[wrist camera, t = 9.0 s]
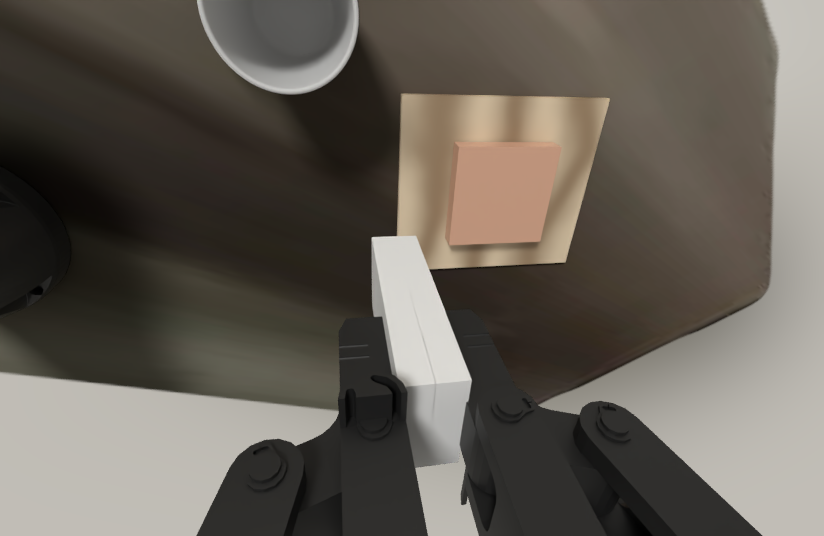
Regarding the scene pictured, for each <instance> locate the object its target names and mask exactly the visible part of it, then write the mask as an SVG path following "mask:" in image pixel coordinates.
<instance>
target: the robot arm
mask: <svg viewBox="0 0 824 536" xmlns="http://www.w3.org/2000/svg"><path fill="white" fill-rule="evenodd" d="M70 256H71V250H70V243H69V238H68V235H67V232H66V230H65V228H64V225H63V223H62V222H61V220H60V218H59V217H58V215H57V214H56V212H55V211H54V210H53V208H52V207H51V206H50V205H49V203H48V202H47V201H46V200H45V199H44V198H43V197H42V196H41V195H40V194H39V193H38V192H37V191H36V190H35V189H33V188H32V187H31V186H30V185H28V184H27V183H26V182H24V181H23V180H22V179H20V178H19V177H17V176H16V175H14V174H13V173H11V172H9V171H8V170H6V169H4V168H2V167H0V318H2V317H5V316H7V315H9V314H12V313H14V312H17V311H19V310H22V309H24V308H26V307H29V306H30V305H32V304H34V303H36V302H37V301H39V300H40V299H42V298H43V297H44V296H45V295H46V294H47V293H48V292H50V291H51V290H52V289H53V288H54V287H55V286H56V285H57V284H58V283H59V282H60V281H61V279H62V278H63V277H64V275H65V273H66V271H67V269H68V266H69V263H70ZM372 306H373V313H374V317H366V318H351V319H346V320H345V322H344V323H343V325H342V327H341V329H340V330H339V360H340V361H339V363H340V393H339V397H338V406H339V414H338V417H337V419H336V421H335V422H334V423H333V424H332V426H331V427H330V428H329V429H328V430H326V431H325V432H324V433H323V434H321V435H320V436H318V437H316V438H314V439H312V440H309V441H307V442H305V443H302V444H300V445H297V446H295V445H294V444H292V443H291V442H287V441H284V440H281V439H272V440H264V441H262V442H259V443H256V444H254V445H251V446H250V447H249V448H247V449H246V450H245V451H243V452H242V453H241V454H240V455H239V456H238V457H237V458H236V460H235V461H234V462H233V464H232V465H231V467H230V468H229V470H228V472H227V474H226V477H225V479H224V480H223V482H222V484H221V487H220V489H219V491H218V493H217V495H216V497H215V499H214V501H213V503H212V505H211V507H210V509H209V511H208V513H207V515H206V517H205V519H204V522H203V524H202V526H201V528H200V530H199V532H198V534H197V536H428V534H427V529H426V523H425V518H424V513H423V507H422V502H421V497H420V491H419V487H418V481H417V476H416V471H415V468H416V467H424V466H432V465H440V464H446V463H455V462H458V460H459V454H460V448H461V451H462V455H463V458H464V461H465V465H466V469H465V474H464V480H463V485H462V491H461V505H464V504H466V502H467V497H468V498H469V502H470V505H471V509H472V512H473V516H474V520H475V523H476V527H477V530H478V533H479V536H762V535H761V534H760V533H759V532H758V531H757V530H755V528H754V527H753V526H752V525H750V524H749V523H748V522H747V521H746V520H745V519H744V518H743V517H742V516H741V515H740V514H739V513H738V512H737V511H736V510H735V509H734V508H733V507H731V506H730V505H729V504H728V503H727V502H726V501H725V500H724V499H723V498H722V497H721V496H720V495H719V494H718V493H716V491H714V490H713V489H712V488H711V487H710V486H709V485H708V484H707V483H706V482H705V481H704V480H703V479H702V478H701V477H700V476H699V475H698V474H696V473H695V472H694V471H693V470H692V469H691V468H690V467H689V466H688V465H687V464H686V463H685V462H684V461H683V460H682V459H681V458H679V457H678V456H677V455H676V454H675V453H674V452H673V451H672V450H671V449H670V448H669V447H668V446H666V444H665V443H663V441H661V440H660V439H659V438H658V437H657V436H656V435H655V434H654V433H653V432H652V431H651V430H650V429H649V428H648V427H647V426H646V425H644V424H643V423H642V422H641V421H640V420H639V419H638V418H637V417H636V416H634V415H633V414H631V413H630V412H629V411H628V410H626V409H625V408H623V407H620V406H618V405H616V404H613V403H609V402H603V401H598V402H590V403H588V404H587V405H585V406H584V407H583V408H582V410H581V413H580V415H576V414H571V413H565V412H559V411H553V410H549V409H545V408H542V407H540V406H538V405H537V404H536V402H535V401H534V400H533V399H532V397H531V396H529V395H528V394H526V393H525V392H523V391H522V390H520V389H517V388H516V386H515V385H514V383H513V381H512V379H511V377H510V375H509V373H508V371H507V369H506V367H505V365H504V363H503V361H502V359H501V357H500V355H499V353H498V351H497V349H496V347H495V346H494V343H493V341H492V338H491V336H490V335H489V332H488V330H487V328H486V326H485V324H484V322H483V320H482V319H481V318H479V317H478V316H477V315H476V314H475V313H474V312H472V311H471V310H470V309H467V310H452V311H445V310H444V307H443V304H442V302H441V299H440V297H439V294H438V291H437V289H436V286H435V284H434V281H433V278H432V276H431V273H430V271H429V268H428V266H427V263H426V260H425V258H424V255H423V253H422V250H421V247H420V245H419V242H418V240H417V237H416V236H394V237H372Z"/></svg>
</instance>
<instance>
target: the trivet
mask: <svg viewBox="0 0 824 536" xmlns="http://www.w3.org/2000/svg"><path fill="white" fill-rule="evenodd" d="M609 101H610V99H608V98H587V97H540V96H493V95H446V94H401V104H400V141H399V178H398V215H397V236H416V237H417V240H418V242H419V245H420V247H421V250H422V253H423V255H424V258H425V260H426V263H427V266H428V268H429V269H444V268H464V267H484V266H504V265H524V264H544V263H564V262H566V258H567V254H568V251H569V247H570V243H571V240H572V236H573V232H574V229H575V225H576V221H577V218H578V214H579V210H580V207H581V203H582V199H583V196H584V192H585V189H586V185H587V181H588V178H589V174H590V170H591V167H592V163H593V159H594V156H595V152H596V148H597V145H598V141H599V137H600V134H601V130H602V126H603V123H604V119H605V116H606V112H607V108H608V105H609ZM454 142H554V143H556V144H557V145H559V146H561V147H562V149H561V153H560V157H559V162H558V166H557V171H556V175H555V179H554V184H553V188H552V192H551V197H550V201H549V205H548V210H547V214H546V218H545V223H544V227H543V231H542V236H541V240H540V242H519V243H495V244H470V245H449V244H448V242H447V240H446V238H445V232H446V221H447V211H448V200H449V189H450V179H451V168H452V158H453V147H454Z"/></svg>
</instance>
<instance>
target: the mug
mask: <svg viewBox="0 0 824 536" xmlns="http://www.w3.org/2000/svg"><path fill="white" fill-rule="evenodd" d="M197 4H198V9H199V14H200V17H201V21H202V24H203V26H204V29H205V31H206V33H207V35H208V38H209V40H210V41H211V43H212V45H213V47H214V48H215V50H216V51H217V52H218V54H219V55H220V57H221V58H222V59H223V60H224V61H225V63H226V64H227V65H228V66H229V67H230V68H231V69H232V70H233V71H235V72H236V73H237V74H238V75H239V76H241V77H242V78H243V79H245V80H246V81H248V82H250V83H251V84H253V85H255V86H257V87H259V88H262V89H264V90H267V91H270V92H274V93H279V94H286V95H296V94H304V93H308V92H312V91H315V90H317V89H319V88H321V87H323V86H325V85H326V84H328V83H329V82H331V81H332V80H333V79H334V78H335V77H336V76H337V75H338V74H339V73H340V72H341V71H342V70H343V68H344V67H345V66H346V64H347V63H348V61H349V59H350V57H351V55H352V53H353V50H354V47H355V44H356V41H357V36H358V30H359V5H358V0H197Z"/></svg>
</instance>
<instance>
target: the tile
mask: <svg viewBox="0 0 824 536" xmlns="http://www.w3.org/2000/svg"><path fill="white" fill-rule="evenodd" d="M561 149H562V147H561V146H559V145H557V144H556V143H554V142H454V147H453V158H452V168H451V179H450V189H449V200H448V211H447V221H446V232H445V238H446V240H447V242H448V244H449V245H470V244H495V243H519V242H540V240H541V236H542V231H543V227H544V223H545V218H546V214H547V210H548V205H549V201H550V197H551V192H552V188H553V184H554V179H555V175H556V171H557V166H558V162H559V157H560V153H561Z"/></svg>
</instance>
